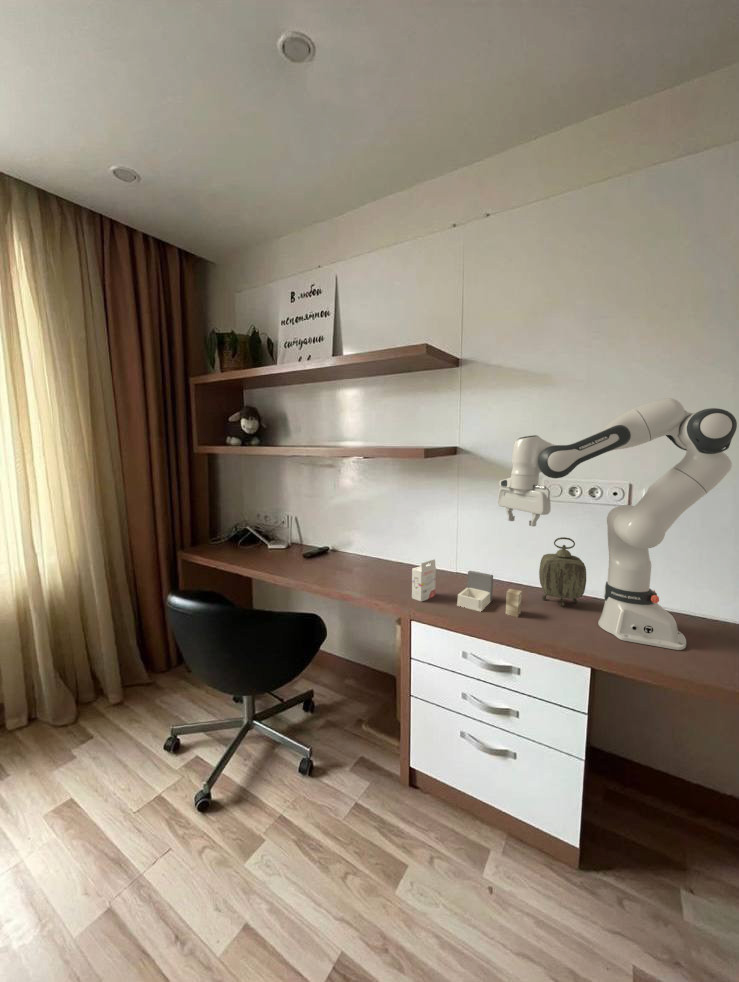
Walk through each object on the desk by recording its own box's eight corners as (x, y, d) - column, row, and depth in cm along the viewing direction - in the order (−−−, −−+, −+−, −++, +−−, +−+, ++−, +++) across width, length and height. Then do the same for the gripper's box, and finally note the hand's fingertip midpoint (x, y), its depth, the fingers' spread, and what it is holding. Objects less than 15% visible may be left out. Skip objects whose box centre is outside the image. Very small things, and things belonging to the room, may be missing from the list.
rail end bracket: (520, 612, 136) (522, 590, 135) (517, 617, 133) (518, 594, 132) (509, 609, 139) (510, 588, 138) (505, 614, 135) (506, 591, 134)
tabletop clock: (579, 601, 146) (584, 536, 144) (585, 611, 138) (590, 542, 135) (537, 597, 150) (541, 533, 147) (541, 606, 142) (545, 539, 139)
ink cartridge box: (425, 592, 154) (426, 556, 152) (435, 596, 150) (436, 559, 149) (410, 598, 148) (411, 560, 147) (421, 602, 145) (422, 563, 143)
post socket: (492, 600, 146) (493, 575, 145) (481, 611, 137) (482, 584, 136) (468, 595, 152) (469, 570, 150) (456, 605, 142) (457, 578, 141)
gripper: (556, 486, 125) (553, 528, 127) (508, 480, 144) (506, 517, 145) (542, 486, 123) (539, 530, 124) (495, 480, 141) (493, 518, 143)
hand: (521, 523), depth 135 cm, fingers open, 8 cm apart
